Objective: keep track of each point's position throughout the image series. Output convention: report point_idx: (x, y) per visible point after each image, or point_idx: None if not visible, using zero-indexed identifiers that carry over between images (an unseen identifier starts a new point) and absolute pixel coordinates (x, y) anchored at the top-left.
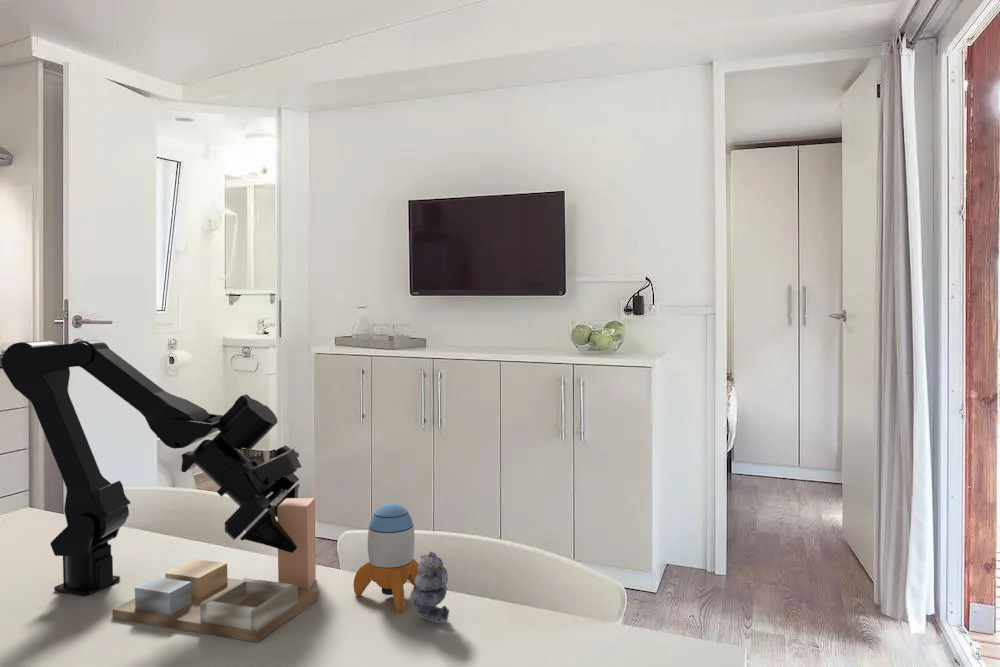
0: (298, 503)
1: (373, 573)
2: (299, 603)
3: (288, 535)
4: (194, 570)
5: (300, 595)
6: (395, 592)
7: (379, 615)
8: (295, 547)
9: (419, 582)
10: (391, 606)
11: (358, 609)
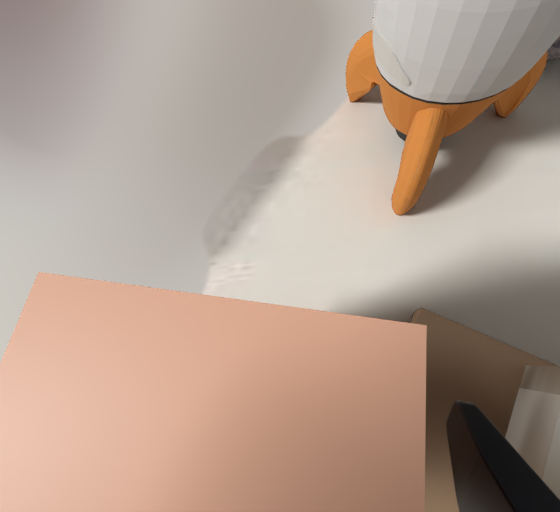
0: (235, 504)
1: (471, 116)
2: (532, 359)
3: (509, 494)
4: None
5: (461, 363)
6: (536, 77)
7: (525, 150)
8: (478, 410)
9: None
10: (468, 132)
11: (489, 200)
